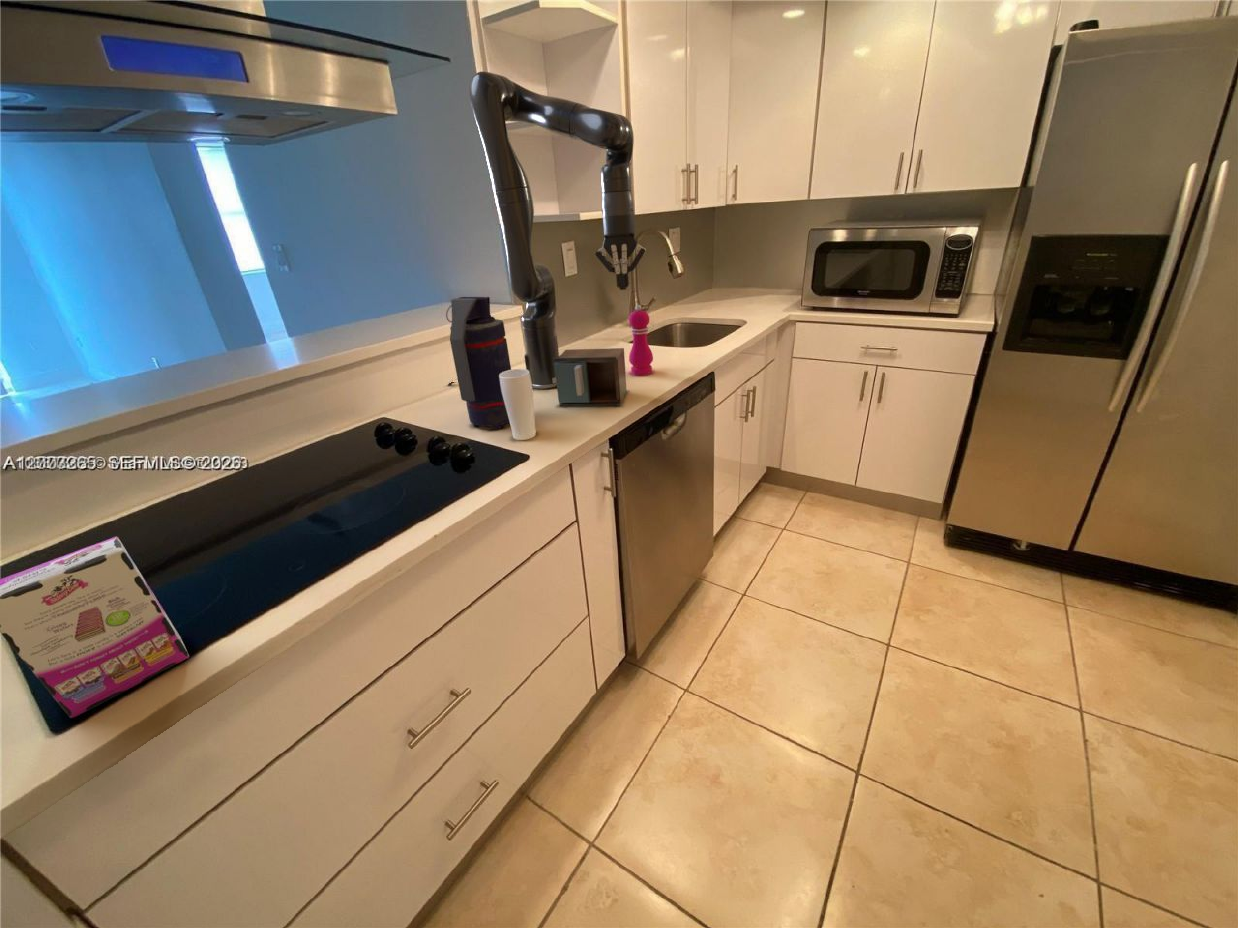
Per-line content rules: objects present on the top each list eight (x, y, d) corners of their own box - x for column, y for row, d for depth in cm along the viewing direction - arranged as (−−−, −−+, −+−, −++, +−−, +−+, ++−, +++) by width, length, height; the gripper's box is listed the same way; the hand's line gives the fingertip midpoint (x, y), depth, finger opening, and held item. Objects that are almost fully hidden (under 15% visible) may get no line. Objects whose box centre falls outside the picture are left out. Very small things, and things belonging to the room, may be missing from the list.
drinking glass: (513, 431, 123) (502, 369, 116) (541, 429, 123) (532, 367, 116) (506, 443, 117) (495, 378, 110) (536, 441, 116) (526, 376, 110)
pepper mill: (654, 368, 161) (651, 302, 152) (653, 375, 154) (650, 306, 145) (630, 369, 162) (626, 303, 153) (628, 376, 155) (624, 308, 146)
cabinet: (559, 406, 136) (553, 358, 130) (570, 391, 146) (565, 346, 141) (619, 406, 133) (616, 357, 128) (626, 391, 143) (623, 345, 138)
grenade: (491, 411, 137) (468, 292, 123) (528, 415, 132) (509, 292, 118) (455, 431, 126) (426, 303, 112) (494, 436, 121) (468, 303, 107)
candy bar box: (182, 639, 67) (119, 533, 60) (191, 658, 64) (126, 548, 57) (65, 697, 60) (-24, 584, 53) (69, 721, 57) (-25, 605, 49)
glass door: (555, 406, 133) (550, 367, 128) (559, 402, 136) (554, 363, 132) (586, 406, 132) (582, 366, 127) (589, 401, 135) (585, 362, 130)
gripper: (647, 211, 126) (651, 286, 134) (594, 215, 128) (600, 288, 136) (643, 212, 119) (647, 290, 127) (587, 216, 122) (594, 293, 130)
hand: (623, 289), depth 132 cm, fingers closed
